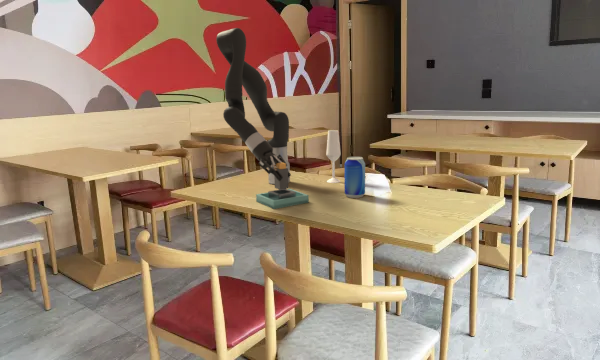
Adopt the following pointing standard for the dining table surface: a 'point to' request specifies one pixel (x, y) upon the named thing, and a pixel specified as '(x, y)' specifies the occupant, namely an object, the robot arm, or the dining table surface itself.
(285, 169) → the grey square peg
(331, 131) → the champagne flute
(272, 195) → the inlet
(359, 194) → the beer can
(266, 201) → the tray
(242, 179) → the dining table surface
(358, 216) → the dining table surface
